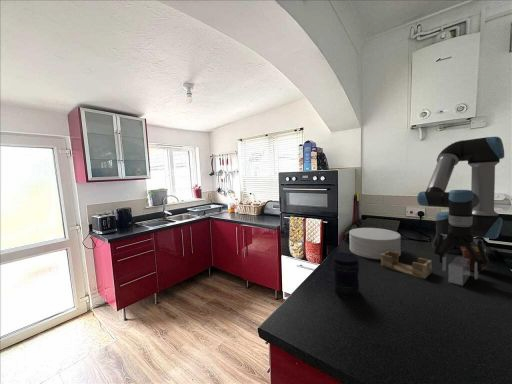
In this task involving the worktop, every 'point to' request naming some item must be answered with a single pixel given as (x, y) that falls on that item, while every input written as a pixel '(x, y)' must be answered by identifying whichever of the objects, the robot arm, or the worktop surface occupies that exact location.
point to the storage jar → (346, 274)
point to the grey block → (459, 270)
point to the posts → (417, 269)
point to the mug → (472, 261)
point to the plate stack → (374, 242)
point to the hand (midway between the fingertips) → (459, 273)
